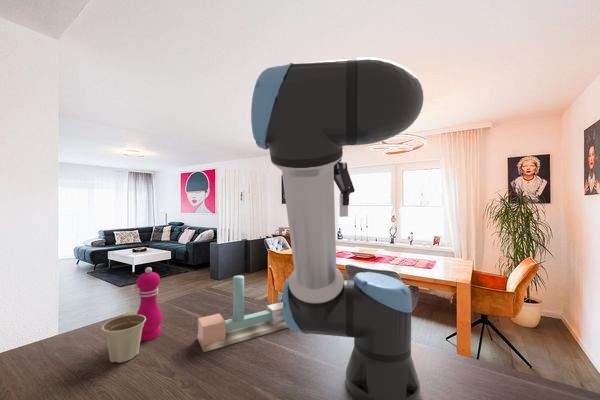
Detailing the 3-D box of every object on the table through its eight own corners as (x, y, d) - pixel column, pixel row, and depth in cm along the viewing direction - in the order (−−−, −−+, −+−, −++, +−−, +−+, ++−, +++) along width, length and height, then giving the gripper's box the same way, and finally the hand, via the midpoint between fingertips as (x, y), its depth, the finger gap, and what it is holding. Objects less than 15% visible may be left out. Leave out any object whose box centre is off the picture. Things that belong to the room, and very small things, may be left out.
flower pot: (131, 342, 74) (131, 311, 74) (154, 351, 70) (154, 318, 70) (93, 361, 66) (93, 326, 66) (116, 372, 62) (116, 335, 62)
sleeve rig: (288, 314, 92) (288, 298, 92) (300, 323, 86) (300, 306, 86) (197, 338, 76) (197, 319, 76) (203, 352, 70) (203, 330, 70)
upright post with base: (273, 315, 87) (273, 269, 86) (277, 319, 84) (278, 272, 84) (206, 332, 75) (206, 280, 75) (209, 337, 73) (209, 283, 73)
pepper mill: (140, 345, 73) (140, 272, 73) (129, 336, 77) (129, 267, 77) (167, 334, 79) (167, 266, 79) (155, 326, 83) (155, 262, 83)
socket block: (219, 330, 79) (219, 313, 79) (225, 339, 74) (225, 321, 74) (198, 335, 76) (198, 318, 76) (202, 345, 70) (202, 327, 70)
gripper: (367, 144, 78) (366, 217, 78) (316, 155, 99) (316, 212, 99) (347, 141, 74) (347, 218, 74) (299, 153, 95) (299, 213, 95)
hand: (329, 215), depth 86 cm, fingers open, 13 cm apart
